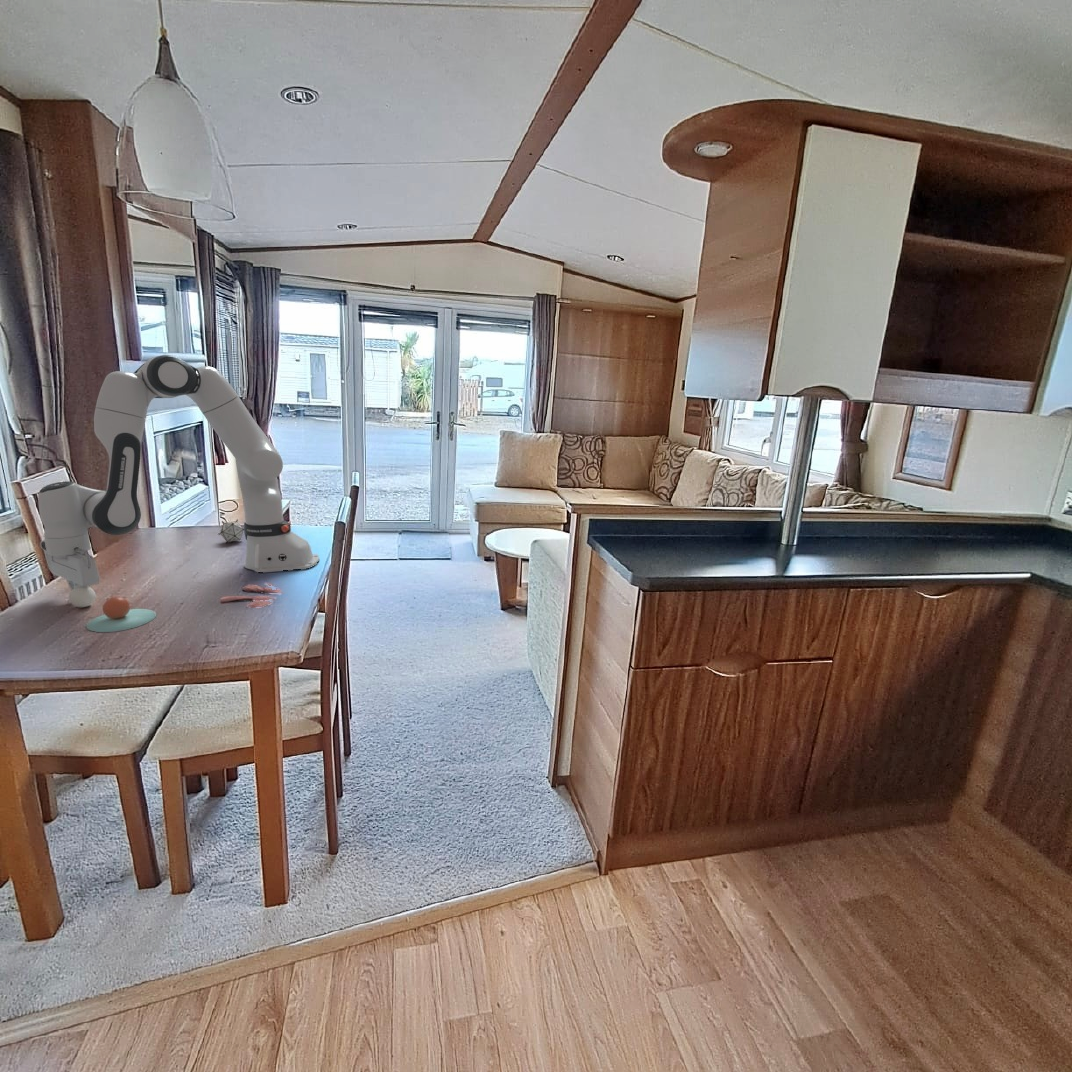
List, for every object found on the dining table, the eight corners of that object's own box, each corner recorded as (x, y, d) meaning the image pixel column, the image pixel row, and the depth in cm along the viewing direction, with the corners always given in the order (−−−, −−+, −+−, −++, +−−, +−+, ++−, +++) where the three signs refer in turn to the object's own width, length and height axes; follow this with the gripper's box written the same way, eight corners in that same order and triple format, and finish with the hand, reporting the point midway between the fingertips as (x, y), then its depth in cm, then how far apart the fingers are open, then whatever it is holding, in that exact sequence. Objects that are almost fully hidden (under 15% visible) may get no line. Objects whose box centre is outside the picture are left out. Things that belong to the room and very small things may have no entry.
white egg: (94, 580, 151) (104, 599, 152) (73, 588, 150) (83, 607, 151) (81, 585, 145) (91, 605, 146) (59, 593, 145) (70, 613, 146)
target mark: (166, 608, 149) (166, 607, 149) (139, 631, 136) (138, 630, 136) (106, 610, 147) (106, 609, 147) (73, 633, 134) (73, 632, 134)
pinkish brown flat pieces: (263, 615, 149) (262, 606, 148) (189, 606, 153) (188, 598, 152) (307, 588, 168) (307, 580, 168) (241, 582, 172) (240, 574, 171)
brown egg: (133, 593, 144) (132, 610, 146) (106, 591, 142) (106, 608, 144) (127, 606, 140) (126, 624, 142) (99, 604, 137) (99, 622, 140)
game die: (237, 552, 210) (239, 535, 204) (213, 545, 208) (214, 527, 202) (248, 535, 217) (250, 518, 210) (224, 528, 215) (225, 510, 208)
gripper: (101, 548, 146) (110, 599, 150) (65, 536, 156) (74, 584, 160) (72, 554, 141) (82, 607, 145) (36, 541, 151) (47, 590, 155)
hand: (78, 595), depth 152 cm, fingers closed
